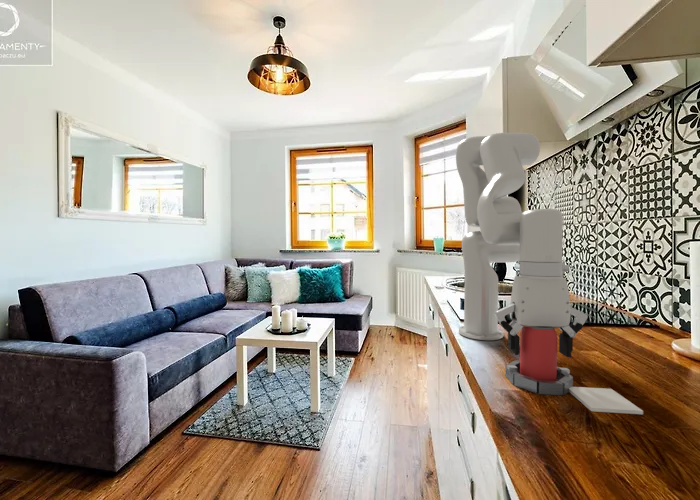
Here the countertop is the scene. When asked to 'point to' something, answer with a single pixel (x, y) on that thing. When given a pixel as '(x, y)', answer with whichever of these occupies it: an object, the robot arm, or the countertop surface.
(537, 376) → the beer can
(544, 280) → the robot arm
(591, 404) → the plate
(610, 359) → the countertop surface
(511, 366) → the collar
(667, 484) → the countertop surface
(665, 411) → the countertop surface
